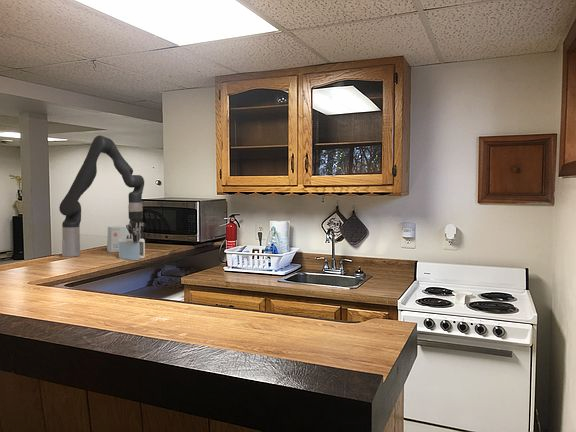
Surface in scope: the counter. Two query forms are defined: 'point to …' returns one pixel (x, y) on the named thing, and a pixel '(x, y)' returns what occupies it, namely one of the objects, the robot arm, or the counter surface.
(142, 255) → the carton
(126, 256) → the front flap
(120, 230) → the skincare box
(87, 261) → the counter surface
